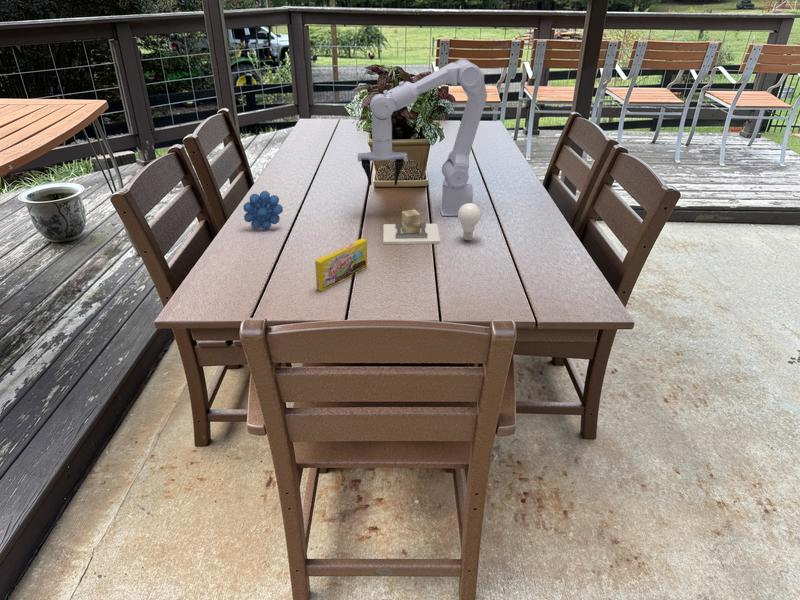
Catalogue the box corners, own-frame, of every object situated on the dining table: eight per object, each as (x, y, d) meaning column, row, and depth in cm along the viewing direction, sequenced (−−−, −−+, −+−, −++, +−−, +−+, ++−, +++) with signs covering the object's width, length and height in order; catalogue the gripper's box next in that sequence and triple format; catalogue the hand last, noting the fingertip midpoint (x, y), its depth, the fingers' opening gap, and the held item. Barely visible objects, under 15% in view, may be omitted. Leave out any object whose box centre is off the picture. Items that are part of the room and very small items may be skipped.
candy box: (322, 292, 131) (319, 262, 127) (316, 289, 132) (313, 259, 128) (368, 268, 142) (367, 239, 137) (362, 265, 143) (361, 237, 138)
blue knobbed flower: (287, 223, 166) (283, 185, 159) (284, 232, 160) (279, 193, 154) (249, 223, 166) (243, 185, 159) (244, 233, 160) (237, 194, 153)
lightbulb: (481, 237, 157) (483, 201, 151) (476, 246, 152) (479, 209, 146) (459, 234, 159) (461, 198, 153) (454, 243, 154) (456, 206, 148)
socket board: (436, 226, 164) (437, 219, 163) (440, 243, 153) (440, 237, 152) (383, 226, 163) (383, 220, 162) (383, 244, 153) (383, 237, 152)
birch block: (414, 228, 160) (414, 209, 157) (419, 233, 157) (420, 214, 154) (401, 230, 159) (401, 211, 156) (407, 236, 156) (407, 216, 153)
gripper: (406, 134, 161) (406, 179, 168) (357, 135, 161) (359, 179, 168) (407, 141, 155) (407, 187, 162) (356, 142, 155) (358, 187, 162)
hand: (383, 184), depth 165 cm, fingers open, 7 cm apart
